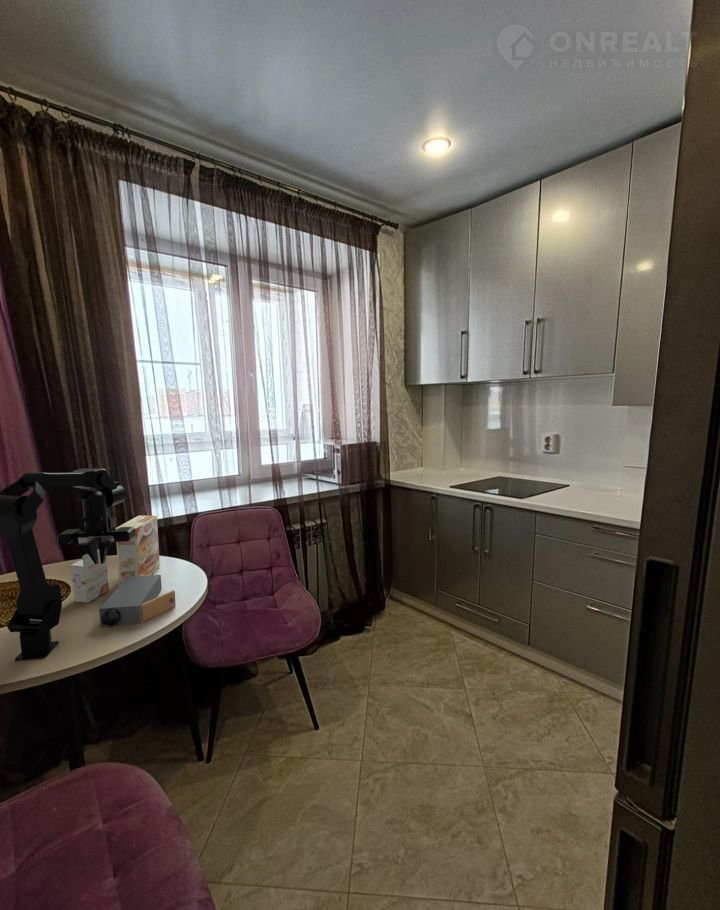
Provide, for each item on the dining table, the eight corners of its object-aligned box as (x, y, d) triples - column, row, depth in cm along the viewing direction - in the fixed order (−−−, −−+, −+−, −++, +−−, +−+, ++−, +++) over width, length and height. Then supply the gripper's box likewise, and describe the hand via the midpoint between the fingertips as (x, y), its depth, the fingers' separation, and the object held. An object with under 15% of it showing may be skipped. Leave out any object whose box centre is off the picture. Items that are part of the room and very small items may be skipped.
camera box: (138, 625, 113) (137, 607, 112) (98, 628, 111) (97, 610, 110) (161, 589, 133) (160, 574, 133) (128, 591, 132) (126, 576, 131)
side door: (145, 622, 114) (144, 605, 113) (141, 620, 115) (140, 604, 114) (177, 606, 122) (176, 591, 122) (173, 605, 123) (172, 590, 122)
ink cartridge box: (96, 588, 134) (92, 545, 132) (109, 590, 133) (106, 546, 131) (73, 601, 125) (68, 555, 123) (87, 603, 124) (82, 556, 122)
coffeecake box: (140, 585, 136) (136, 528, 133) (118, 585, 136) (113, 528, 133) (161, 567, 151) (157, 515, 148) (141, 567, 151) (137, 515, 148)
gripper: (140, 503, 129) (143, 551, 131) (73, 505, 125) (78, 555, 128) (126, 513, 118) (130, 565, 120) (53, 516, 115) (58, 570, 117)
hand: (99, 563), depth 121 cm, fingers closed
